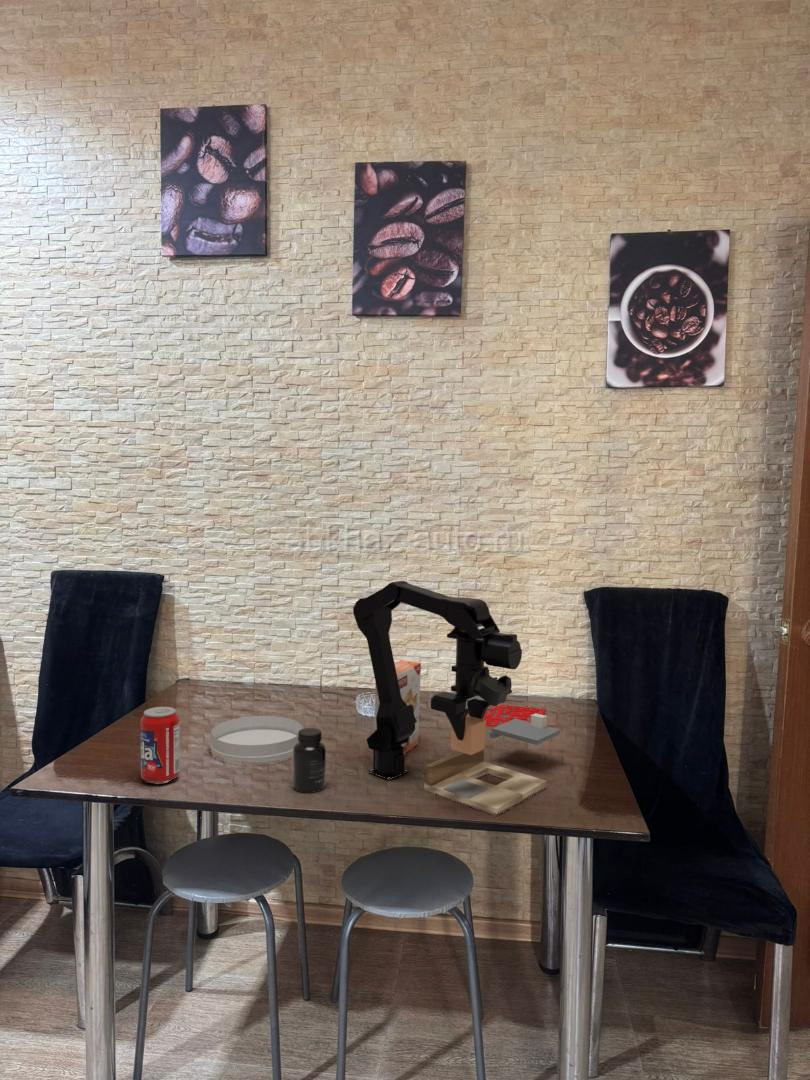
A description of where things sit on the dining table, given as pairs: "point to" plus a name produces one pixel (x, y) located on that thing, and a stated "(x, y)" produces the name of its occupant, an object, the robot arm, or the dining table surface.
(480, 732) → the block
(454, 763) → the puzzle board
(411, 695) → the cracker box
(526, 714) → the maze puzzle
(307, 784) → the supplement bottle
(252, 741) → the dish
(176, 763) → the soda can
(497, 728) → the sliding cover
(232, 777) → the dining table surface
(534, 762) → the dining table surface
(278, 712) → the dining table surface
